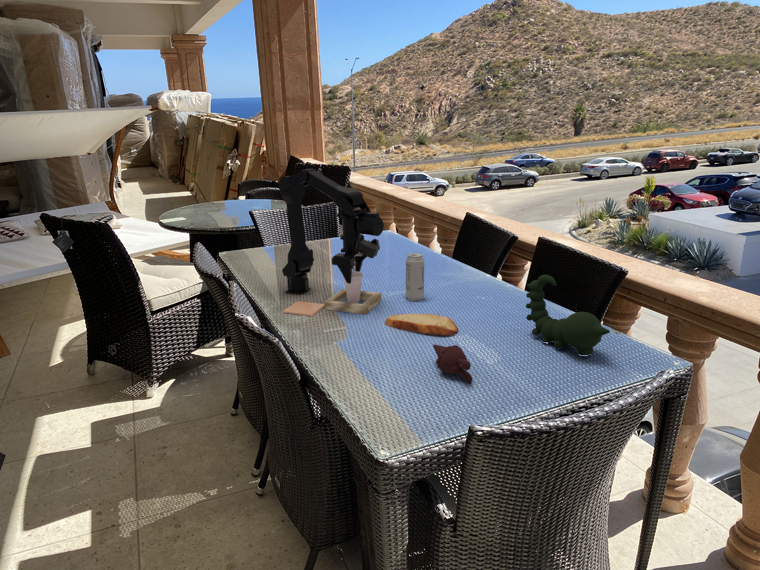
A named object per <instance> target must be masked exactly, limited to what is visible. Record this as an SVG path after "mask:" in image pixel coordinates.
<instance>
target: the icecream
mask: <svg viewBox="0 0 760 570" xmlns="http://www.w3.org/2000/svg"><path fill="white" fill-rule="evenodd" d="M432 347H433V349H434V351H435V354H436V356H437V359H436V361H435V363H436V366H437V368H438V369H440V371H441V372H444V373H446V374H450V375H457V374H459V375H460V376H461V378H463V380H464V381H465V382H467V383H468V384H469V383H472V382H473V376H472V375H471V373H470V372H469V371H468V370H470V369H471V362H470V361H469V360H468V359H467V356H466V354H465V352H464V351H463V349H462V347H460V346H459V345H457V344H455V345H454V344H453V345H448V346H444V345H440V344H432Z"/></svg>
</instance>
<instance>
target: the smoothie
mask: <svg viewBox="0 0 760 570" xmlns="http://www.w3.org/2000/svg"><path fill="white" fill-rule="evenodd" d="M354 263H355V262H354ZM342 278H343V280H344V281H343V282H344V286H345V289H346V294H347V298H346V299H347V302H349V303H358V304H360V301H361V300H360V292H361V291H362V279H363V278H364V274H363V272H361V271H360V272H357V271H355V266H354V271H353V270H352V277H351V283H350V284H349V283H347V282H346V280H345V278H344V276H343V275H342Z"/></svg>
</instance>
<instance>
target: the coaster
mask: <svg viewBox="0 0 760 570" xmlns="http://www.w3.org/2000/svg"><path fill="white" fill-rule="evenodd" d="M323 309H325V305H324V303H318V302H316V303H315V302H307V301H301V300H300V301H299V300H297V301H296V302H295V303H293V304H292V305H290V306H289V307H287V308H285V309H284V310H282V314H286V313H289V314H288V315H294V314H298V315H297V316H302V315H305V316H304V317H310V316H311V317H310V318H312V317H313V316H315V315H317V314H318V313H319V312H320V311H321V310H323Z"/></svg>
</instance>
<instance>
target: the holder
mask: <svg viewBox="0 0 760 570" xmlns="http://www.w3.org/2000/svg"><path fill="white" fill-rule="evenodd" d="M346 299H347V294H346V288H342V289H340V290H339V291H338V292H336V293H334V294H333V295H332V296H331V297H329V298H328V299H326V300H325V301H324V303H323V304H324V305H325V307H324V310H326V311H333V312H342V313H343V312H344V313H351V314H357V315H359V314H360V315H367V314H368V313H369V312H371V311H372V309H373V308H375V307H377V305H378V304H379V303H380V302H381V301H382V292H376V291H365V290H361V292H360V301H364V302H363V303H359V304H358V303H349V302H348V301H347V302H346V301H344V300H346Z"/></svg>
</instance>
